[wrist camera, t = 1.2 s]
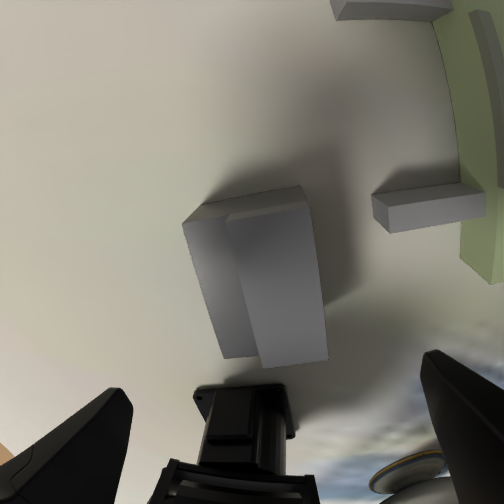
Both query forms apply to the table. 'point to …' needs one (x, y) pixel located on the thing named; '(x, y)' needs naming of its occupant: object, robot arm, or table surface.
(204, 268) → the grey stepped block
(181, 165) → the table surface
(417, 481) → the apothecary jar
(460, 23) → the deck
